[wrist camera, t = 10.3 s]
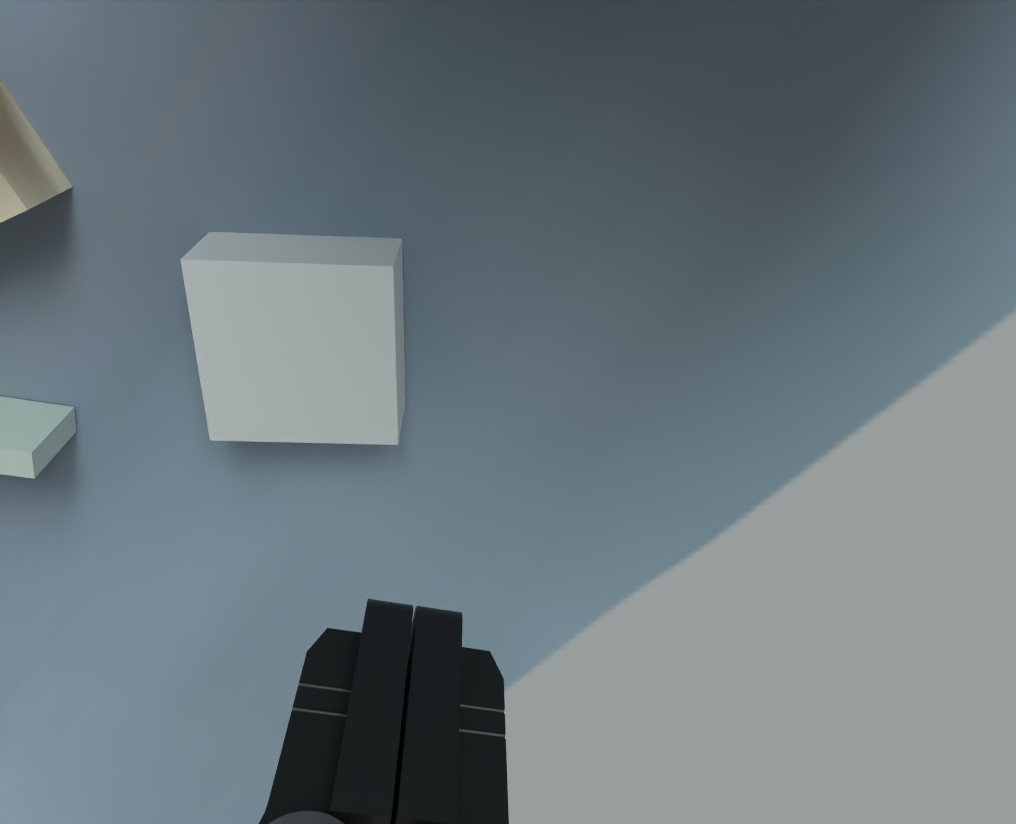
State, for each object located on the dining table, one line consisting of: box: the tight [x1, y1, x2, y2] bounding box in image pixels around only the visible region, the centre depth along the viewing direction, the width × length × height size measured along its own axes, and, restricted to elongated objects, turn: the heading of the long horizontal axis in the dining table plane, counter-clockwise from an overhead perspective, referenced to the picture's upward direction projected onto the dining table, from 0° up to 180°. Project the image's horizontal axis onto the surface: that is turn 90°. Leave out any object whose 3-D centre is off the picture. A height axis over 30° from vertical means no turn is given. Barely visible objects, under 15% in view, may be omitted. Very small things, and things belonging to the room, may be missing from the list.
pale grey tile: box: [180, 232, 406, 445], centre depth 25 cm, size 6×6×3 cm
